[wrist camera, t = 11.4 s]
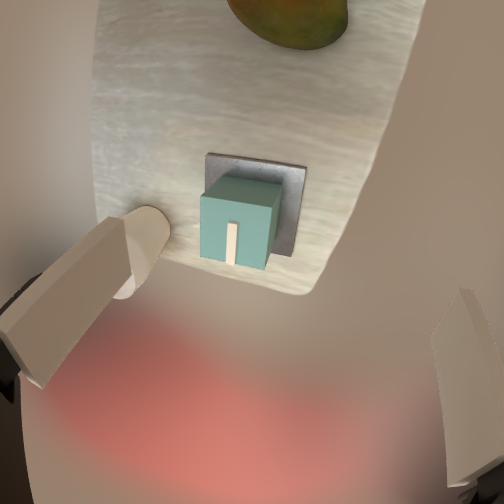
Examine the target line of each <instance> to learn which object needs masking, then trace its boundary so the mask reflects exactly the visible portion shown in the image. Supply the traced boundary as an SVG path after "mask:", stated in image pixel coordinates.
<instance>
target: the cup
mask: <svg viewBox="0 0 504 504" xmlns="http://www.w3.org/2000/svg"><path fill="white" fill-rule="evenodd" d="M119 219H124V227H125V234H126V241H127V248H128V254H129V260H130V266H131V272H132V275H131V276H130V278H129V279H128V280H127V281H126V282H125V284H124V285H123V286H122V287H121V288H120V289H119V291H118V292H117V293H116V294H115V295H114V297H113V298H116V299H125V298H128V297H130V296H131V295H132V294H133V293H134V292H135V291H136V290H137V289H138V287H139V286H140V285H141V284H142V283H143V282H144V281H145V280H146V278H147V276H148V274H149V273H150V271H151V269H152V267H153V266H154V264H155V261H156V260H157V258H158V257H159V255H160V253H161V251H162V249H163V248H164V246H165V244H166V242H167V241H168V239H169V237H170V225H169V222H168V220H167V219H166V217H165V216H164V215H163V214H162V213H161V212H160V211H159V210H158V209H156V208H154V207H151V206H142V207H140V208H138V209H136V210H134V211H132V212H130V213H128V214H126V215H125V216H123V217H121V218H119Z"/></svg>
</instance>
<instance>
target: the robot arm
mask: <svg viewBox="0 0 504 504" xmlns="http://www.w3.org/2000/svg"><path fill="white" fill-rule="evenodd" d="M131 275H132V272H131V266H130V260H129V254H128V248H127V241H126V234H125V227H124V219H118V218H113V217H108V218H106V219H105V220H104V221H103V222H101V223H100V224H99V225H98V226H97V227H95V228H94V229H93V230H92V231H90V232H89V233H88V234H87V235H86V236H85V237H83V238H82V239H81V240H80V241H79V242H78V243H76V244H75V245H74V246H73V247H72V248H71V249H69V250H68V251H67V252H66V253H65V254H64V255H62V257H60V258H59V259H58V260H57V261H56V262H55V263H54V264H52V265H51V266H50V267H49V268H48V269H47V270H46V271H45V272H44V273H40V274H39V275H37V276H35V277H33V278H32V279H30V280H29V281H28V282H27V283H26V284H25V285H24V286H23V287H22V288H21V290H19V291H18V292H16V293H15V294H14V297H12V298H11V299H10V300H9V301H8V302H7V303H5V305H4V306H3V307H2V308H1V309H0V504H34V503H33V499H32V493H31V489H30V483H29V478H28V472H27V466H26V458H25V451H24V442H23V432H22V418H21V395H20V394H21V393H20V378H19V376H18V373H19V372H20V370H22V372H23V373H24V375H25V376H26V377H27V379H28V380H29V381H31V382H32V383H34V384H35V385H37V386H38V387H40V388H41V389H43V388H44V387H45V385H46V384H47V382H48V381H49V380H50V378H51V377H52V375H53V374H54V373H55V371H56V370H57V369H58V367H59V365H60V364H61V363H62V362H63V360H64V359H65V358H66V356H67V355H68V354H69V352H70V351H71V350H72V348H73V347H74V346H75V344H76V343H77V342H78V340H79V339H80V338H81V337H82V335H83V334H84V333H85V331H86V330H87V329H88V328H89V326H90V325H91V324H92V323H93V321H94V320H95V319H96V318H97V316H98V315H99V314H100V313H101V311H102V310H103V309H104V307H105V306H106V305H107V304H108V303H109V302H110V300H111V299H112V298H113V297H114V295H115V294H116V293H117V292H118V291H119V289H120V288H121V287H122V286H123V285H124V284H125V282H126V281H127V280H128V279H129V278H130V276H131ZM429 339H430V343H431V348H432V353H433V357H434V363H435V369H436V374H437V380H438V386H439V392H440V399H441V406H442V414H443V423H444V433H445V444H446V458H447V481H448V483H447V486H448V487H454V486H462V485H466V484H468V483H470V482H472V481H474V480H475V479H477V481H478V485H476V486H474V487H473V488H471V489H469V490H467V491H465V492H463V493H461V494H460V495H459V496H458V499H460V498H463V497H464V496H466V495H468V497H467V498H466V499H464V500H463V501H462V502H463V504H504V367H503V364H502V361H501V358H500V355H499V352H498V349H497V347H496V344H495V341H494V338H493V336H492V333H491V330H490V328H489V325H488V323H487V320H486V318H485V316H484V313H483V311H482V309H481V306H480V304H479V302H478V299H477V297H476V295H475V293H474V291H472V290H468V289H463V288H458V290H457V292H456V293H455V295H454V297H453V299H452V301H451V303H450V304H449V306H448V308H447V310H446V311H445V313H444V315H443V317H442V318H441V320H440V322H439V323H438V325H437V327H436V328H435V330H434V331H433V333H432V335H431V336H430V338H429Z"/></svg>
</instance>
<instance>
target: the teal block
mask: <svg viewBox="0 0 504 504" xmlns="http://www.w3.org/2000/svg"><path fill="white" fill-rule="evenodd" d="M281 192H282V185H279V184H273V183H267V182H261V181H254V180H248V179H241V178H234V177H227V176H221V177H220V178H219V179H218V180H217V181H216V182H215V183H214V184H213V185H212V186H211V187H210V188H208V189H207V190H206V191H205V192H204V193H203V194H202V195H201V200H200V257H204V258H209V259H214V260H218V261H223V262H226V264H229V265H234V266H235V264H238V265H242V266H247V267H252V268H257V269H262V270H264V269H265V266H266V264H267V261H268V258H269V255H270V252H271V250H272V247H273V244H274V241H275V237H276V229H277V222H278V215H279V207H280V200H281Z"/></svg>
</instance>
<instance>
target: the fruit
mask: <svg viewBox="0 0 504 504" xmlns="http://www.w3.org/2000/svg"><path fill="white" fill-rule="evenodd" d="M227 1H228V4H229V6H230V8H231V9H232V11H233V12H234V14H235V15H236V16H237V18H238V19H239V20H240V21H241V22H242V23H243V24H244V25H245V26H247V27H248V28H249V29H250V30H251V31H253V32H254V33H255V34H257V35H258V36H260V37H261V38H263V39H265V40H268V41H270V42H272V43H275V44H278V45H281V46H284V47H288V48H294V49H300V50H313V49H318V48H322V47H325V46H327V45H329V44H331V43H333V42H334V41H336V40H337V39H338V38H339V37H340V36H341V35H342V34H343V33H344V32H345V30H346V28H347V24H348V11H347V1H346V0H227Z"/></svg>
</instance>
